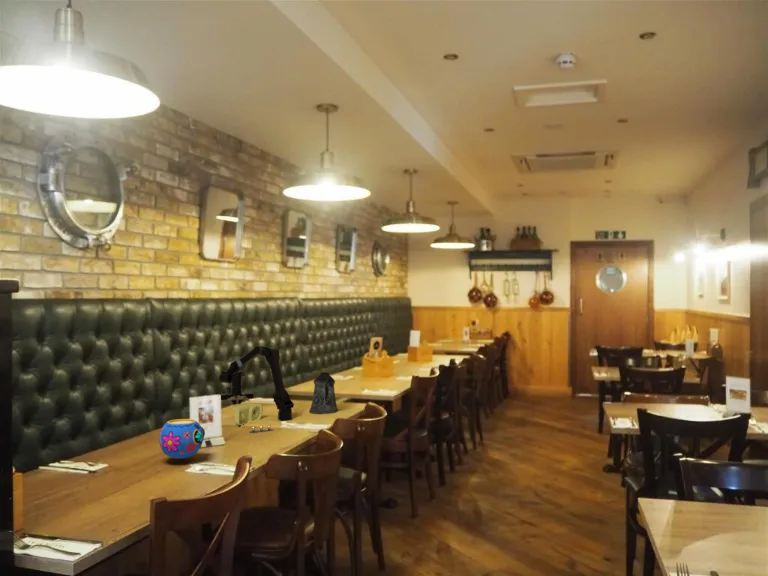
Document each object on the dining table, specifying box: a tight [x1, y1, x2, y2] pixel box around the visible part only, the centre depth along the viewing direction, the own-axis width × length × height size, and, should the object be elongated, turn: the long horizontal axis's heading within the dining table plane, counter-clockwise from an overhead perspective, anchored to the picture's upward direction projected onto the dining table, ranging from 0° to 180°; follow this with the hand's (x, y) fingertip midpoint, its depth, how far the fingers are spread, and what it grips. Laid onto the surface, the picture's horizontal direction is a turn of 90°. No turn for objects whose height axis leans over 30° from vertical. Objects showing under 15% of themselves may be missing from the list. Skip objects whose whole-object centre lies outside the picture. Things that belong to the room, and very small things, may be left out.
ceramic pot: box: [158, 418, 206, 460], centre depth 268 cm, size 18×18×15 cm
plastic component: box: [229, 402, 264, 426], centre depth 348 cm, size 20×7×10 cm, turn 153°
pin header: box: [248, 424, 274, 434], centre depth 322 cm, size 12×2×3 cm, turn 117°
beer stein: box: [308, 372, 339, 415], centre depth 371 cm, size 16×19×25 cm
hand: (236, 411), depth 365 cm, fingers closed
